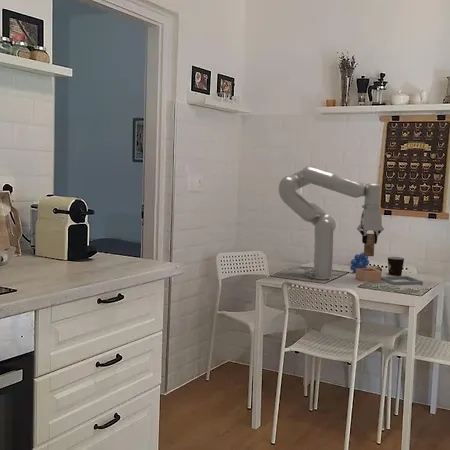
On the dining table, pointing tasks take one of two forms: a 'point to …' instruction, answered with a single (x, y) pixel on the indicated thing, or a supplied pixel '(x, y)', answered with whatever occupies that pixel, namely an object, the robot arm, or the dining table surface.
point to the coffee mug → (395, 265)
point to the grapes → (359, 262)
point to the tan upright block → (369, 245)
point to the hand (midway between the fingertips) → (369, 243)
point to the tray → (410, 281)
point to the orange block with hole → (368, 274)
